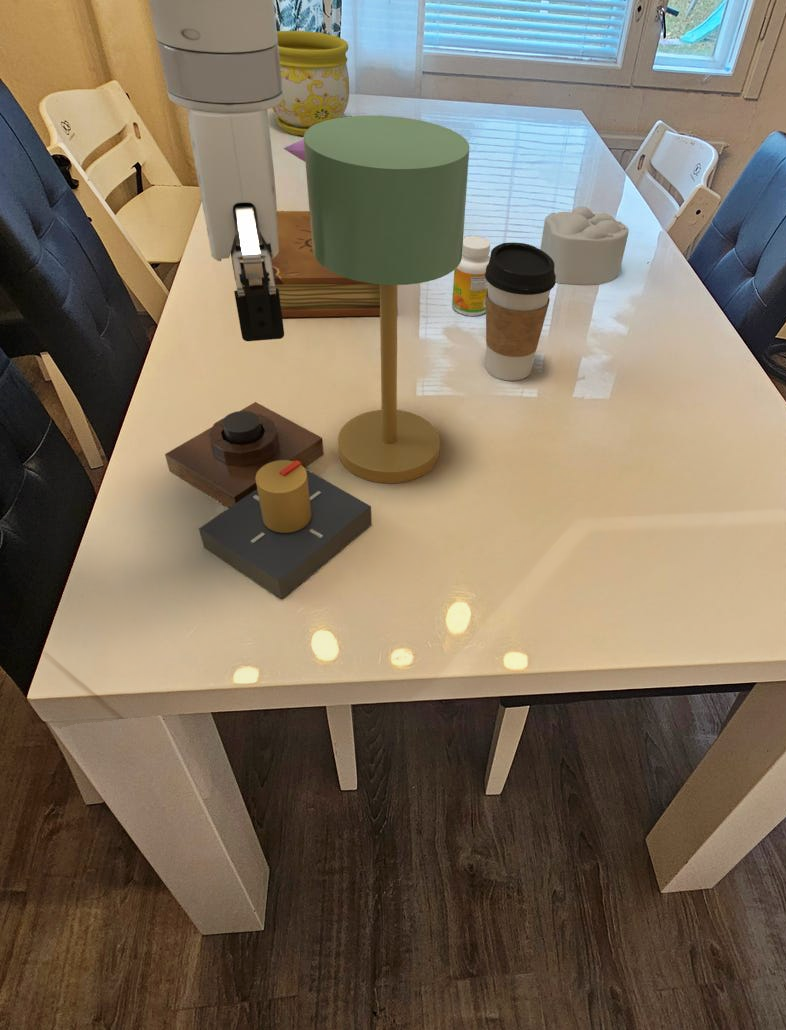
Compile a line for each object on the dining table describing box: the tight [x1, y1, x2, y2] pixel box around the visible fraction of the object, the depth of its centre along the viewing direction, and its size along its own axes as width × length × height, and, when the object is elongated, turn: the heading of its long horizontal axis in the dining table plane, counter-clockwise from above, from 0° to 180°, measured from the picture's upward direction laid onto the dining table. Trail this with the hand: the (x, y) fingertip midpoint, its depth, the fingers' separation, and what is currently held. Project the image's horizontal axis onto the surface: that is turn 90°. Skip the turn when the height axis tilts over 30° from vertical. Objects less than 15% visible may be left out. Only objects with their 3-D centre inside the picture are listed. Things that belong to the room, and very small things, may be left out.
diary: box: [271, 210, 380, 318], centre depth 103 cm, size 23×19×6 cm
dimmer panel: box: [198, 468, 372, 600], centre depth 66 cm, size 12×10×3 cm
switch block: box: [164, 401, 324, 509], centre depth 73 cm, size 12×10×4 cm
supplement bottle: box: [451, 235, 491, 317], centre depth 99 cm, size 5×5×10 cm
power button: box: [222, 410, 262, 445], centre depth 71 cm, size 4×4×2 cm
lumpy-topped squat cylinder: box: [539, 206, 629, 286], centre depth 112 cm, size 10×13×9 cm
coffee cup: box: [485, 242, 557, 382], centre depth 86 cm, size 8×8×15 cm
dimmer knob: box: [256, 460, 312, 533], centre depth 63 cm, size 4×4×5 cm
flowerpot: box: [271, 30, 350, 137], centre depth 150 cm, size 18×18×16 cm
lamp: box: [303, 115, 470, 484], centre depth 67 cm, size 13×13×32 cm
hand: (258, 308), depth 59 cm, fingers open, 9 cm apart
